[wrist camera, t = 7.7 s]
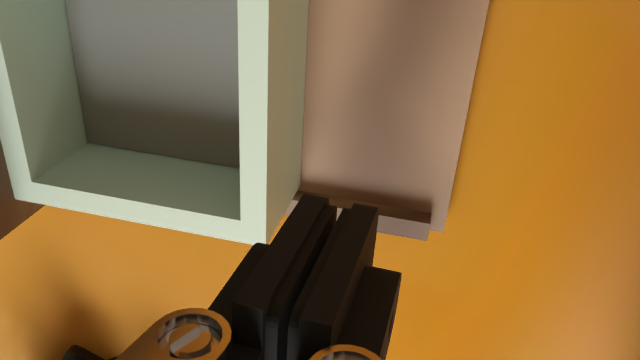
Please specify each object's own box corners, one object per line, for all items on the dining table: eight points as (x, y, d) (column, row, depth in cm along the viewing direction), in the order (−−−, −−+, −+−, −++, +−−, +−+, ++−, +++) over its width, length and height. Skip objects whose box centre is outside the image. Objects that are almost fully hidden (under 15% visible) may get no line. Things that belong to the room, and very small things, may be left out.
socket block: (312, -76, 18) (269, -62, 15) (300, 185, 23) (265, 247, 19) (45, -99, 20) (-56, -92, 16) (85, 148, 25) (15, 199, 21)
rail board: (507, -101, 18) (532, -81, 10) (444, 217, 24) (431, 381, 16) (33, -136, 21) (-224, -140, 13) (81, 154, 27) (-77, 268, 19)
